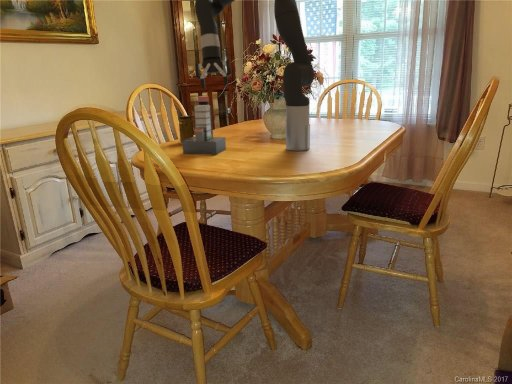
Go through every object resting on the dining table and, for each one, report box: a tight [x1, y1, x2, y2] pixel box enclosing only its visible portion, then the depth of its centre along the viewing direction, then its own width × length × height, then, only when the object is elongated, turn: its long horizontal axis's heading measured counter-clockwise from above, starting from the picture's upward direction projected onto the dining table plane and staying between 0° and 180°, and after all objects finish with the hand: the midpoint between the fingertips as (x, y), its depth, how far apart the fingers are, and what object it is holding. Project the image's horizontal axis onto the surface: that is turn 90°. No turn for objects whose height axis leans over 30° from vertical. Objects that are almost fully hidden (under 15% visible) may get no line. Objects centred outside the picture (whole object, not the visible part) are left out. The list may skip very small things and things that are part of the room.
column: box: [194, 104, 213, 140], centre depth 163 cm, size 5×5×13 cm
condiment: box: [178, 115, 194, 145], centre depth 186 cm, size 7×8×12 cm
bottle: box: [197, 95, 214, 137], centre depth 189 cm, size 7×7×20 cm
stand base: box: [182, 127, 227, 156], centre depth 164 cm, size 14×11×10 cm
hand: (214, 87), depth 167 cm, fingers open, 8 cm apart
